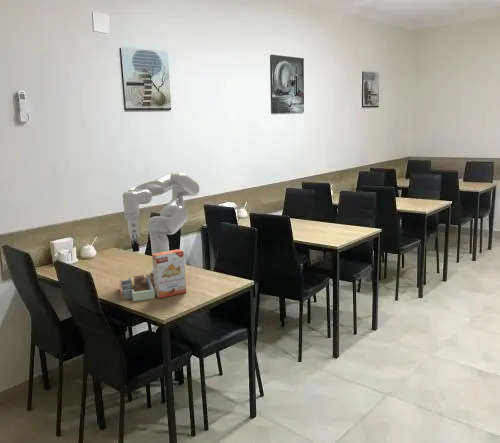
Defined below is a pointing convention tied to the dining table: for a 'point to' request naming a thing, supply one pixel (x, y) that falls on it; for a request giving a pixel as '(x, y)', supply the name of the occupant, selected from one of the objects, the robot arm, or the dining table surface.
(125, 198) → the robot arm
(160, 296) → the cracker box
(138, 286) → the walnut block
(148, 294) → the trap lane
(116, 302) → the dining table surface
